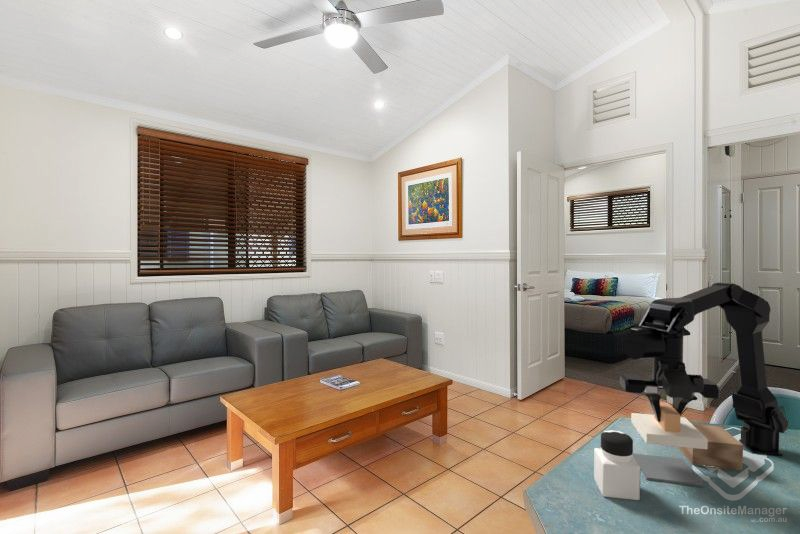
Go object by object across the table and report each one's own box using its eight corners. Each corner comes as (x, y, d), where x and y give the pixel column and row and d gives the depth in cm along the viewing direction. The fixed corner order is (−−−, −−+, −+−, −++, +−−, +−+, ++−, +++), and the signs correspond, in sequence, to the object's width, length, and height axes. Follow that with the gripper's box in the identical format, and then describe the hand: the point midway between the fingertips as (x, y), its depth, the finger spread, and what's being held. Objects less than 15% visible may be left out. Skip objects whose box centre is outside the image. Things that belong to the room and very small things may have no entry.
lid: (684, 426, 98) (685, 401, 98) (707, 449, 87) (708, 420, 87) (631, 421, 101) (631, 397, 101) (646, 443, 90) (647, 415, 89)
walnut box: (720, 449, 103) (721, 426, 103) (742, 470, 94) (743, 444, 93) (675, 445, 106) (676, 422, 106) (692, 464, 96) (693, 440, 96)
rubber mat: (682, 460, 98) (682, 458, 98) (703, 486, 88) (703, 484, 87) (632, 455, 101) (632, 453, 101) (646, 479, 90) (646, 477, 90)
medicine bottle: (640, 501, 83) (641, 443, 82) (602, 497, 84) (603, 440, 84) (628, 481, 90) (629, 428, 89) (593, 478, 91) (594, 425, 91)
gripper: (633, 362, 88) (632, 433, 88) (734, 367, 83) (732, 442, 84) (619, 349, 98) (618, 413, 99) (708, 354, 94) (707, 420, 94)
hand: (666, 421), depth 94 cm, fingers closed on lid, 3 cm apart
